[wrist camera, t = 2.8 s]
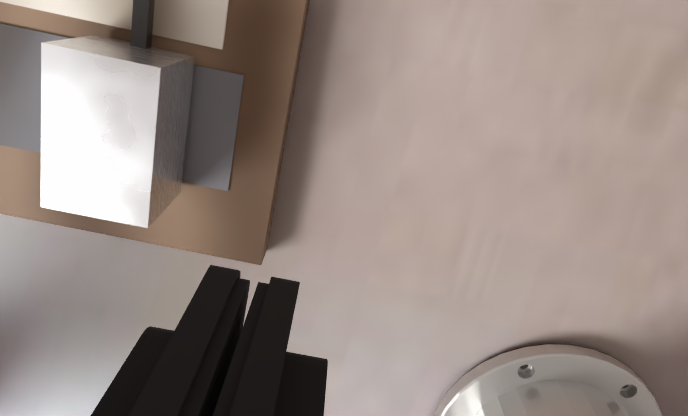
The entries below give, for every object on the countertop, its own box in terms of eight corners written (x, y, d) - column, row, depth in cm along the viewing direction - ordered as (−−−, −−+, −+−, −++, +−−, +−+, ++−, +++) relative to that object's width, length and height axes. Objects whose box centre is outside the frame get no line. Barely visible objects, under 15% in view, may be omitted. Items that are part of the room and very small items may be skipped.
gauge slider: (202, -18, 21) (168, -21, 17) (180, 192, 24) (147, 228, 20) (98, -40, 21) (41, -49, 17) (90, 174, 24) (40, 206, 20)
